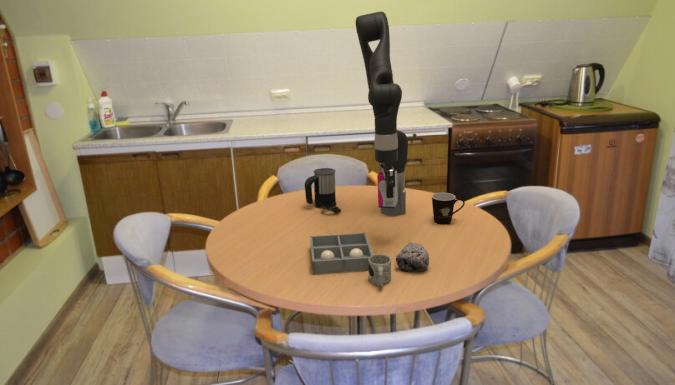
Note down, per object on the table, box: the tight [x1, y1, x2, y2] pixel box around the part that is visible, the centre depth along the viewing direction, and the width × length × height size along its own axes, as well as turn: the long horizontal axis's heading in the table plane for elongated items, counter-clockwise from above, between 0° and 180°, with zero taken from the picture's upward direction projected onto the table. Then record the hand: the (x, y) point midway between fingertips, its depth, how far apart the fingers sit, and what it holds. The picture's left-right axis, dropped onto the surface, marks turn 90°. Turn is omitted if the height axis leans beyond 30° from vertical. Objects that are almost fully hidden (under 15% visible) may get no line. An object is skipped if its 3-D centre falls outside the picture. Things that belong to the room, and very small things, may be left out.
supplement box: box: [376, 171, 398, 209], centre depth 172 cm, size 6×6×12 cm
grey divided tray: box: [309, 232, 374, 275], centre depth 167 cm, size 19×19×4 cm
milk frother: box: [304, 167, 342, 214], centre depth 208 cm, size 14×16×15 cm
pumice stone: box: [395, 241, 430, 272], centre depth 159 cm, size 10×8×10 cm
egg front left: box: [349, 248, 363, 258], centre depth 162 cm, size 4×4×4 cm
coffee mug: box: [431, 192, 466, 226], centre depth 191 cm, size 12×9×10 cm
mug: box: [367, 253, 392, 287], centre depth 151 cm, size 10×7×7 cm, turn 178°
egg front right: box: [321, 250, 335, 260], centre depth 162 cm, size 4×4×4 cm
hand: (387, 193), depth 173 cm, fingers closed on supplement box, 7 cm apart
